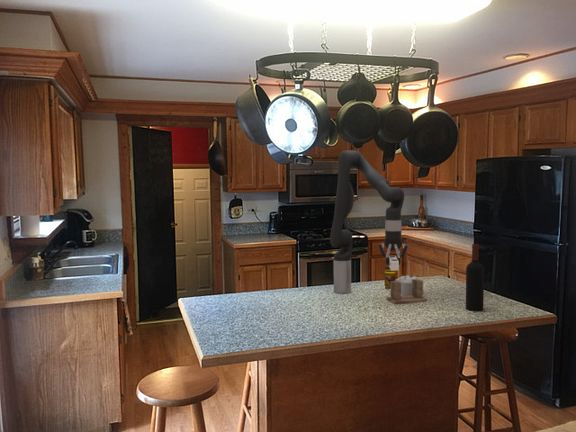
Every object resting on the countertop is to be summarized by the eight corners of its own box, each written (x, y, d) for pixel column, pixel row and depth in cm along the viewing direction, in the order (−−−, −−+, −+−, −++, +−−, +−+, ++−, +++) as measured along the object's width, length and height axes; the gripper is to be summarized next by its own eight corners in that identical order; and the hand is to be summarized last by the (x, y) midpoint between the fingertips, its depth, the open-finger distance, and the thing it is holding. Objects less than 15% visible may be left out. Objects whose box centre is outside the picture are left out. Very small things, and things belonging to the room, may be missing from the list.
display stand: (386, 299, 240) (386, 280, 240) (416, 296, 245) (416, 277, 244) (396, 304, 231) (396, 284, 230) (427, 301, 235) (427, 281, 235)
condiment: (390, 290, 258) (390, 268, 257) (378, 287, 265) (378, 266, 264) (399, 288, 263) (399, 266, 262) (387, 285, 270) (387, 264, 268)
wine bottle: (462, 309, 220) (463, 244, 218) (469, 305, 226) (470, 242, 223) (479, 312, 215) (480, 246, 213) (485, 308, 221) (487, 243, 218)
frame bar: (388, 263, 237) (388, 254, 237) (395, 263, 237) (395, 254, 236) (390, 270, 221) (390, 260, 221) (398, 270, 221) (398, 261, 220)
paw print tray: (404, 296, 245) (404, 280, 244) (392, 290, 257) (392, 274, 257) (423, 295, 248) (423, 278, 247) (410, 289, 260) (410, 273, 259)
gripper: (409, 228, 229) (409, 264, 230) (379, 228, 233) (379, 263, 235) (408, 230, 222) (408, 267, 223) (377, 230, 226) (377, 266, 228)
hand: (393, 265), depth 229 cm, fingers closed on frame bar, 4 cm apart
